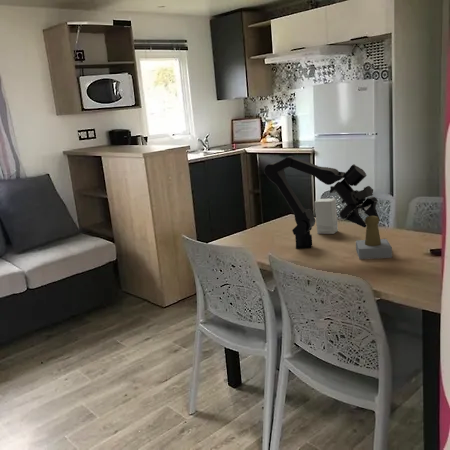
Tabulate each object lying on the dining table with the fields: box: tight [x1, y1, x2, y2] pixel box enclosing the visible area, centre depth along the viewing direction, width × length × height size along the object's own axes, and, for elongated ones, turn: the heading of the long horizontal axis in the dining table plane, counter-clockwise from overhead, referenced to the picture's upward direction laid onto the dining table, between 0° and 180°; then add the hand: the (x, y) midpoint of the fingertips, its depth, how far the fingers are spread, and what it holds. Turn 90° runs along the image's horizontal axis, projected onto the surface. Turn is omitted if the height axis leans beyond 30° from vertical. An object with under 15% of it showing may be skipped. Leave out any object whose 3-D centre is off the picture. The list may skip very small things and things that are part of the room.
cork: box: [364, 215, 381, 246], centre depth 191 cm, size 6×6×11 cm
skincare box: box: [314, 198, 339, 235], centre depth 228 cm, size 8×7×16 cm
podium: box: [355, 238, 393, 260], centre depth 193 cm, size 12×12×4 cm
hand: (372, 224), depth 190 cm, fingers open, 9 cm apart
